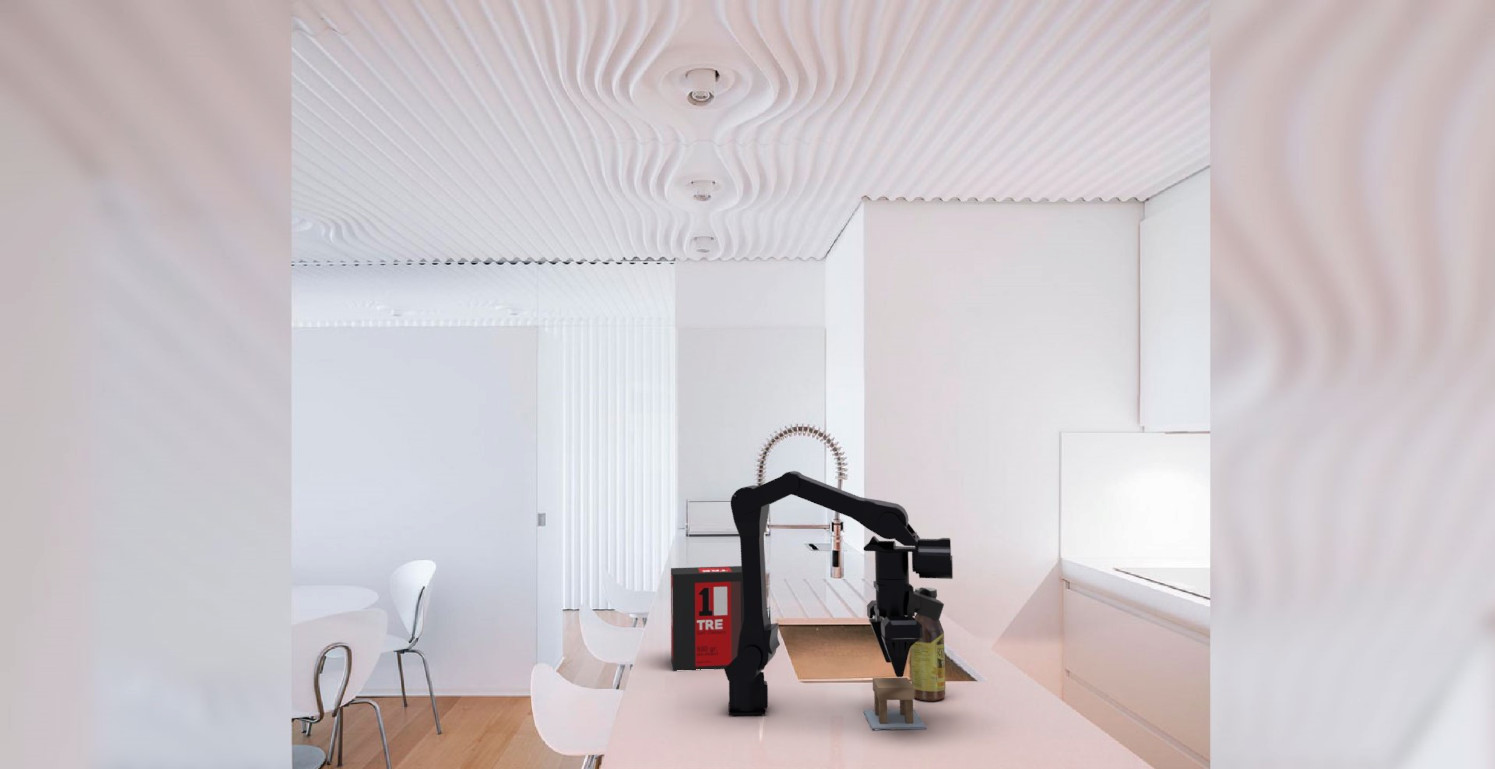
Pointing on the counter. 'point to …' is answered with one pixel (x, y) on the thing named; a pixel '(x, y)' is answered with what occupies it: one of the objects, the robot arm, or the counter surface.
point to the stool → (893, 697)
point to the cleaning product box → (705, 616)
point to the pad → (893, 720)
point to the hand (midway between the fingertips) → (894, 669)
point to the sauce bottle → (928, 659)
